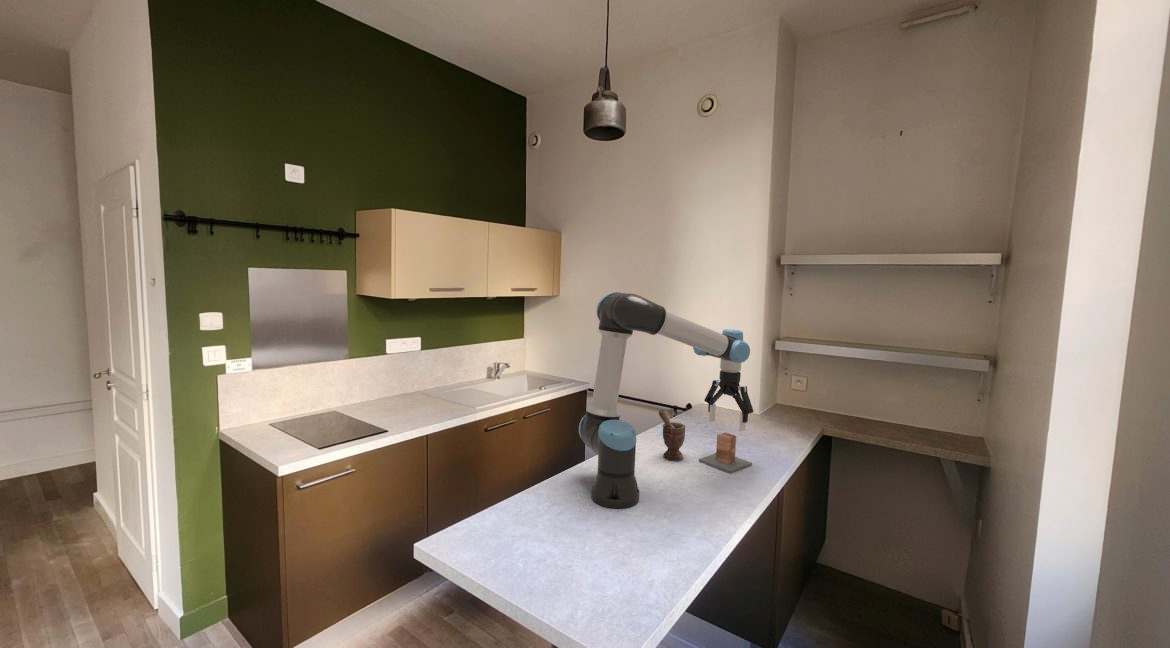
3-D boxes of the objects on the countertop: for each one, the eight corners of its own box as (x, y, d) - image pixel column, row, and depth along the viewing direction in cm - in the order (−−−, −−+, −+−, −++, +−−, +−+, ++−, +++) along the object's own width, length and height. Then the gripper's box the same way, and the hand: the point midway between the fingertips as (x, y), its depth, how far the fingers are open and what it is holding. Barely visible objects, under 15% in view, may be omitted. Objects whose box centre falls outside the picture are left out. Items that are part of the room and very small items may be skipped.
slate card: (729, 473, 170) (729, 471, 170) (698, 461, 181) (698, 458, 181) (752, 465, 178) (752, 462, 178) (721, 454, 189) (721, 451, 189)
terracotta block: (726, 464, 176) (728, 438, 175) (715, 460, 180) (717, 434, 179) (734, 461, 179) (736, 436, 178) (723, 457, 183) (725, 432, 182)
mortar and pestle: (673, 465, 176) (676, 413, 174) (653, 459, 181) (655, 409, 179) (687, 457, 185) (690, 407, 183) (668, 452, 190) (670, 403, 188)
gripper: (766, 375, 169) (761, 433, 171) (709, 364, 189) (706, 416, 190) (754, 377, 164) (749, 436, 166) (697, 365, 184) (694, 418, 186)
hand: (726, 425), depth 178 cm, fingers open, 13 cm apart
